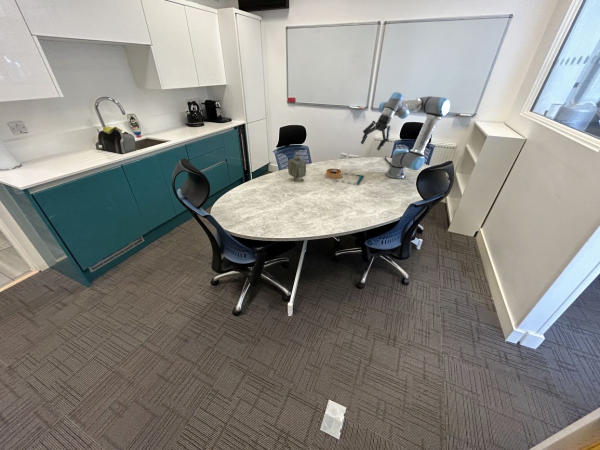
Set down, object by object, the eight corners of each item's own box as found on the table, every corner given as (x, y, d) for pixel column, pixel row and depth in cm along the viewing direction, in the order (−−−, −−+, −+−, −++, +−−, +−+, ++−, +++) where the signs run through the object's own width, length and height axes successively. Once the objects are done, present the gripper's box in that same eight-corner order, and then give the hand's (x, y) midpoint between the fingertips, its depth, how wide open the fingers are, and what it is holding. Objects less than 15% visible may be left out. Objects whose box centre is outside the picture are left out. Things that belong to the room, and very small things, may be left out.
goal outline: (340, 172, 225) (340, 172, 225) (363, 176, 217) (363, 175, 217) (333, 180, 208) (333, 180, 208) (358, 185, 201) (358, 184, 201)
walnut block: (331, 174, 219) (331, 169, 217) (336, 174, 219) (336, 169, 216) (331, 176, 216) (331, 171, 213) (336, 176, 215) (336, 171, 213)
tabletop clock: (305, 181, 207) (306, 151, 193) (296, 184, 202) (296, 153, 189) (296, 176, 217) (296, 147, 203) (287, 178, 212) (286, 149, 199)
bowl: (328, 172, 225) (328, 167, 223) (343, 174, 220) (343, 169, 218) (323, 177, 215) (323, 172, 212) (338, 180, 210) (339, 175, 207)
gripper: (368, 109, 168) (353, 139, 173) (401, 119, 153) (383, 150, 159) (372, 114, 174) (357, 143, 179) (404, 124, 159) (386, 154, 165)
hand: (369, 146), depth 169 cm, fingers open, 13 cm apart
